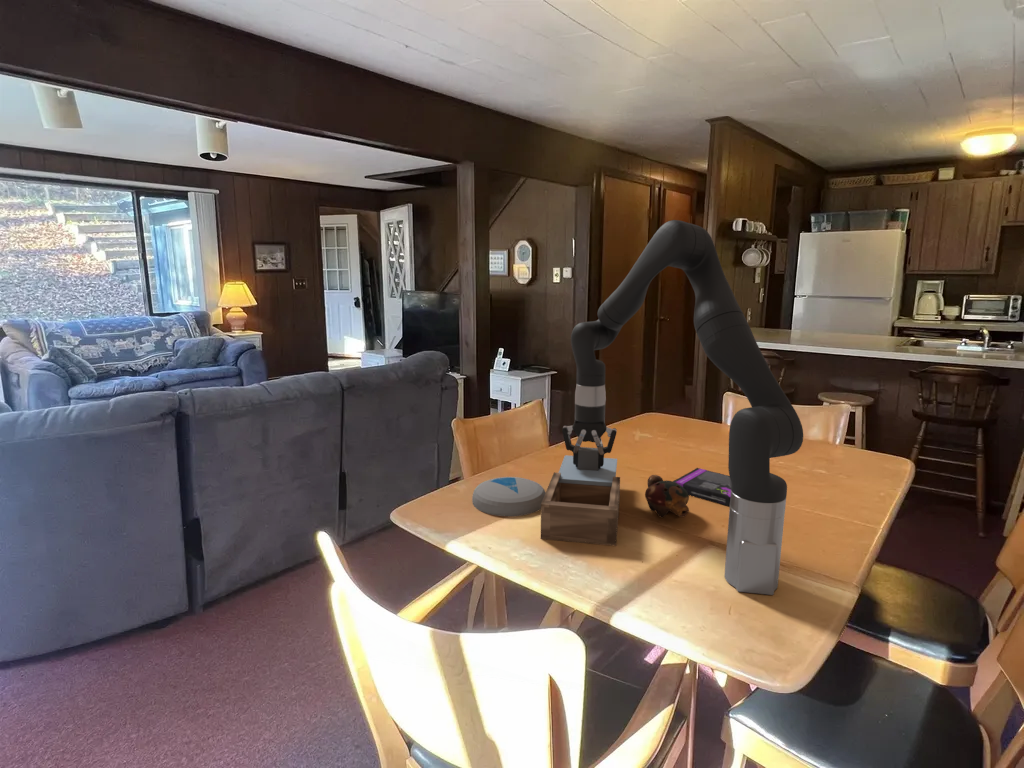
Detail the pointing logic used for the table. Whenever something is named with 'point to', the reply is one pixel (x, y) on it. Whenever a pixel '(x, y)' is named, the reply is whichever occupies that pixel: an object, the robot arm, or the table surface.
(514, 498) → the grey thick disc
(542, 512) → the walnut box
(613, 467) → the lid
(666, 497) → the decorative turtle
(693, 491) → the box
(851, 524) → the table surface
